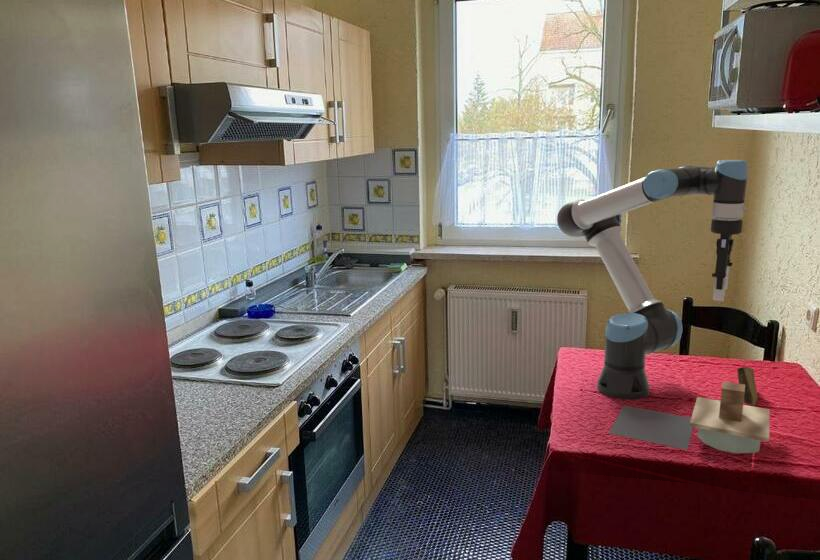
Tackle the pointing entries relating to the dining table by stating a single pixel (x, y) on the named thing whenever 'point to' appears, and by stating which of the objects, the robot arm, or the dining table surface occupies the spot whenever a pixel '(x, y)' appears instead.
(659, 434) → the mat
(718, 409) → the lid
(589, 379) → the dining table surface
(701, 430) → the bowl
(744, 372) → the rock
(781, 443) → the dining table surface
